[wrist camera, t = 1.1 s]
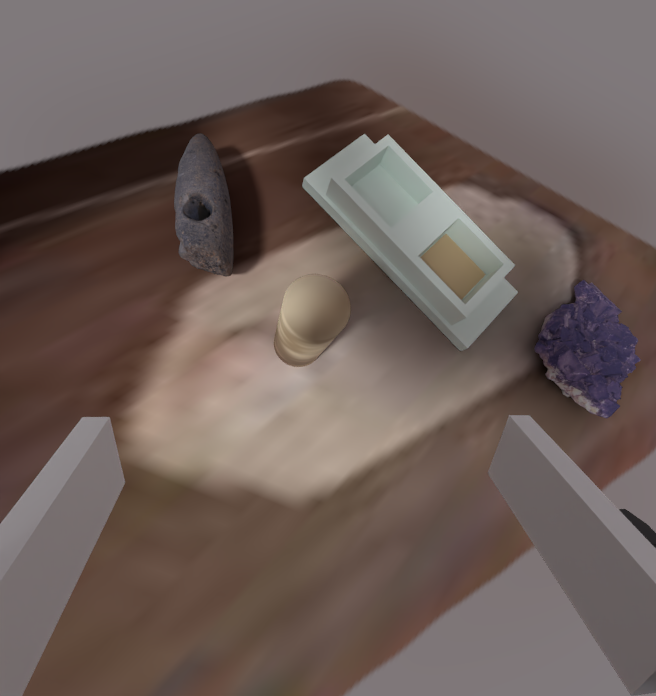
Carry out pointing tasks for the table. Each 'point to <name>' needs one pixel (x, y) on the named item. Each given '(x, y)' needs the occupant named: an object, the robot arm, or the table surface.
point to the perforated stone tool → (203, 209)
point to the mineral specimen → (588, 350)
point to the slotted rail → (415, 236)
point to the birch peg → (310, 318)
